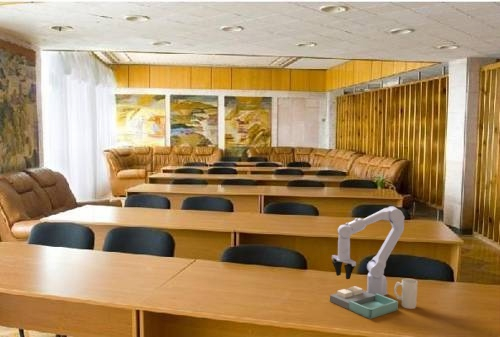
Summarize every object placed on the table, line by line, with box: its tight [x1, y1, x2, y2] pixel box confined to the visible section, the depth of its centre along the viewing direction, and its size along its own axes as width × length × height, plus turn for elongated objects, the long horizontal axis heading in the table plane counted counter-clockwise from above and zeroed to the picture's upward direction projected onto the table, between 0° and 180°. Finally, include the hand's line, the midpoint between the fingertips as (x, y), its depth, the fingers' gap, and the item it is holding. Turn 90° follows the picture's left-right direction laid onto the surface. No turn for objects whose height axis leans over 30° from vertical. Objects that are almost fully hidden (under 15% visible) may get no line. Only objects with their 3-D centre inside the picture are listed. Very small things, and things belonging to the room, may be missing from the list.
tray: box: [348, 293, 399, 320], centre depth 212 cm, size 18×12×4 cm
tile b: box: [336, 288, 352, 298], centre depth 221 cm, size 5×5×2 cm
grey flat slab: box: [329, 289, 375, 311], centre depth 222 cm, size 18×12×3 cm, turn 124°
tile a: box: [347, 285, 364, 295], centre depth 225 cm, size 5×5×2 cm
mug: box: [393, 277, 418, 310], centre depth 216 cm, size 10×7×12 cm, turn 71°
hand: (343, 277), depth 231 cm, fingers open, 6 cm apart
